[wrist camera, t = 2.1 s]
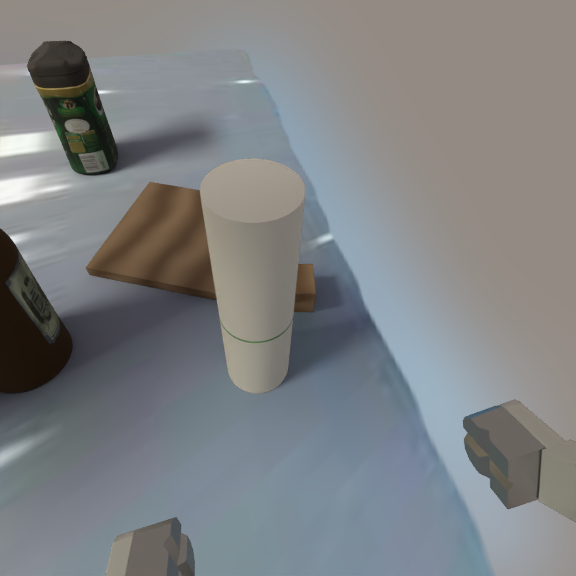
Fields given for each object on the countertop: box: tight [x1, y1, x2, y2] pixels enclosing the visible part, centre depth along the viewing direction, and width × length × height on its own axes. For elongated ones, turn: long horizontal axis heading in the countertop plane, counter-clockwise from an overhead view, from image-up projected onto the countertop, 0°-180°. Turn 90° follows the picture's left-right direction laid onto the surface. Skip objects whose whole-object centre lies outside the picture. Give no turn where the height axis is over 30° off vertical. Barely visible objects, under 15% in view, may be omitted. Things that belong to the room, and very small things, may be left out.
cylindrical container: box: [200, 159, 305, 393], centre depth 36 cm, size 7×7×25 cm
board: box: [86, 182, 217, 300], centre depth 58 cm, size 20×20×2 cm
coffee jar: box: [27, 41, 118, 175], centre depth 63 cm, size 10×8×19 cm
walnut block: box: [294, 264, 316, 312], centre depth 51 cm, size 5×5×4 cm
